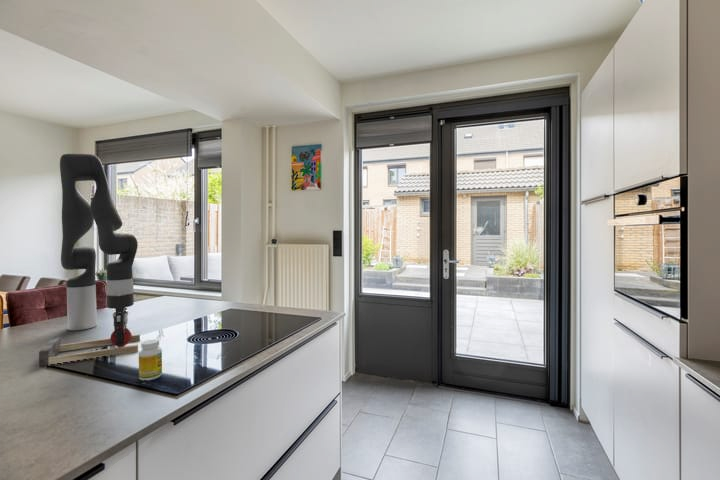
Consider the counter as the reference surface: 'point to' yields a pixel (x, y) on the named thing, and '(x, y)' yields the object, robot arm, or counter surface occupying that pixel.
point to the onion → (126, 337)
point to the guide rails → (54, 347)
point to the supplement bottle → (150, 360)
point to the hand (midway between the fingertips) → (121, 341)
